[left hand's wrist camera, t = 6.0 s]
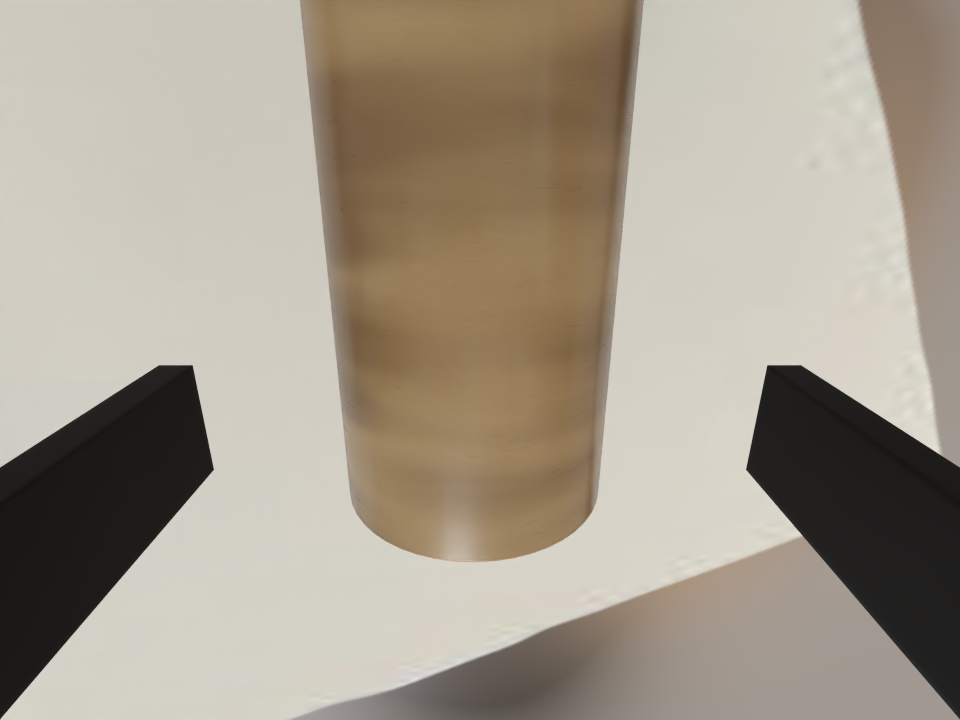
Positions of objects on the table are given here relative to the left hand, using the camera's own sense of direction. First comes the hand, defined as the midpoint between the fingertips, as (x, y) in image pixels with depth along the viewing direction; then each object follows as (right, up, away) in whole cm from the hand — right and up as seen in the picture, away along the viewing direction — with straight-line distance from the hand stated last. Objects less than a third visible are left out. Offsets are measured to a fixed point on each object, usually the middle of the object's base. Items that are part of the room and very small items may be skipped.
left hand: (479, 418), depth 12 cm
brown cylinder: (0, +10, +4) cm, 11 cm away
